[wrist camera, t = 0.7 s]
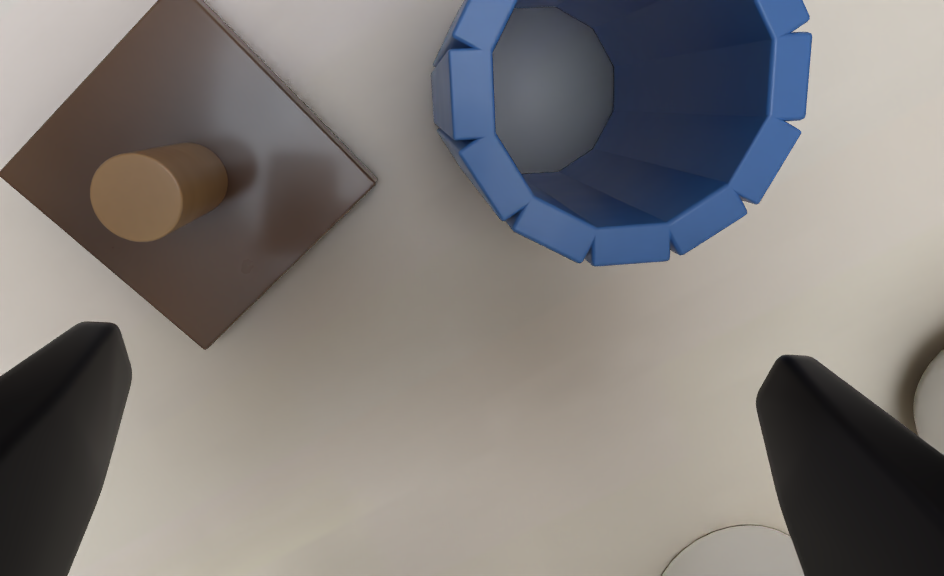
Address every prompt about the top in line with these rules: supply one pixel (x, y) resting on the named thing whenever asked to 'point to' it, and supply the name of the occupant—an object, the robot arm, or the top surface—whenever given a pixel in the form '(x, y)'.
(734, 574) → the cylindrical container
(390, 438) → the top surface
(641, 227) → the blue ribbed vase
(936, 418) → the plastic bottle
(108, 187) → the stand
